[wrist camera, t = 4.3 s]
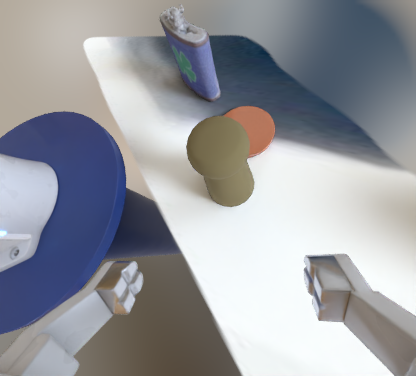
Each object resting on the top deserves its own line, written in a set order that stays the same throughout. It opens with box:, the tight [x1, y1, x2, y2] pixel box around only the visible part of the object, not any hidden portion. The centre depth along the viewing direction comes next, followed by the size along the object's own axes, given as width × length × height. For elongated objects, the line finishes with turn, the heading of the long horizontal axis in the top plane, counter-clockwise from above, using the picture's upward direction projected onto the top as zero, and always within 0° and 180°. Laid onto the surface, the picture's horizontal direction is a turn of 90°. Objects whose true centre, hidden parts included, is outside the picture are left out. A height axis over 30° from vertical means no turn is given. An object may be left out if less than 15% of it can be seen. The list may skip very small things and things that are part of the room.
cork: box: [186, 116, 254, 207], centre depth 19 cm, size 6×6×11 cm
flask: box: [160, 4, 220, 102], centre depth 25 cm, size 9×3×11 cm, turn 38°
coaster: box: [224, 106, 275, 158], centre depth 25 cm, size 8×8×1 cm
